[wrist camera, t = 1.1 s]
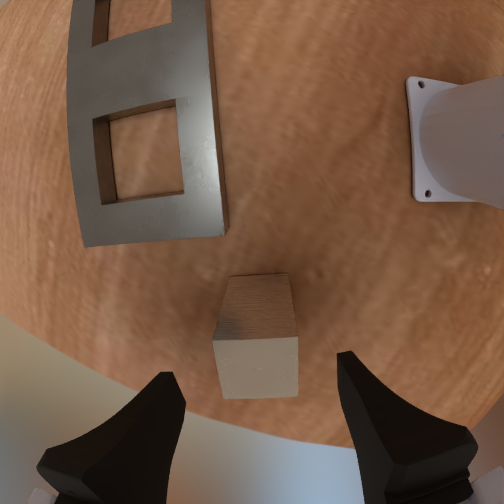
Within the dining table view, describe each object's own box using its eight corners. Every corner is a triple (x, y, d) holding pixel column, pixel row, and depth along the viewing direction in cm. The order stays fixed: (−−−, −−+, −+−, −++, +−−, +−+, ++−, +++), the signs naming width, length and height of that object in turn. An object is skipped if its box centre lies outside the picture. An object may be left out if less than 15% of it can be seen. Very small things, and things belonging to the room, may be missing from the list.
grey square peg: (287, 273, 19) (298, 336, 12) (289, 322, 20) (297, 396, 13) (230, 276, 19) (211, 340, 12) (236, 325, 20) (223, 398, 13)
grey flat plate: (207, -51, 12) (202, -66, 10) (229, 226, 18) (224, 235, 16) (90, -16, 12) (77, -26, 11) (99, 238, 19) (84, 247, 17)
